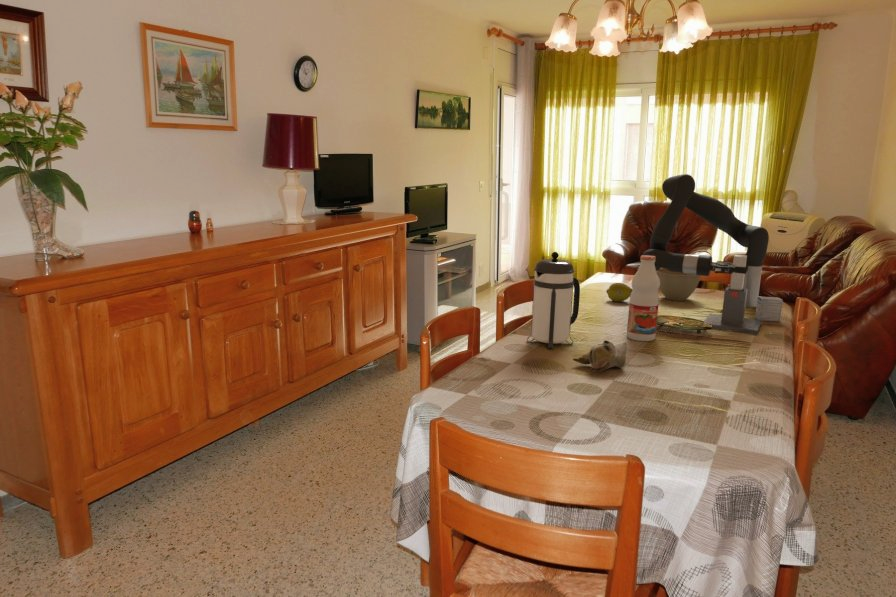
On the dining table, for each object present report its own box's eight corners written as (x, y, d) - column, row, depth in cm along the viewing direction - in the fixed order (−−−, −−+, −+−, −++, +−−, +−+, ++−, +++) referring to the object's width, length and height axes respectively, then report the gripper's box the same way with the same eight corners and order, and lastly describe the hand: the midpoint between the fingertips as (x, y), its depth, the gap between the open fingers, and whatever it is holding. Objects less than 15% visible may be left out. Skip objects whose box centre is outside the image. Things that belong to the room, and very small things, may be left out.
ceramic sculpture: (637, 342, 184) (592, 349, 179) (636, 371, 186) (592, 379, 181) (615, 332, 194) (571, 339, 188) (614, 360, 196) (571, 368, 190)
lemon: (603, 301, 274) (605, 283, 272) (607, 298, 281) (609, 280, 279) (629, 304, 269) (631, 286, 268) (633, 301, 276) (635, 282, 275)
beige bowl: (645, 295, 289) (648, 268, 286) (680, 293, 294) (683, 267, 292) (670, 304, 272) (673, 275, 269) (706, 302, 277) (710, 274, 275)
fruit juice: (644, 333, 226) (652, 253, 220) (661, 340, 217) (669, 258, 211) (621, 335, 223) (627, 254, 217) (636, 342, 215) (644, 258, 209)
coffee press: (576, 352, 203) (582, 256, 196) (524, 347, 206) (529, 254, 199) (576, 337, 219) (582, 249, 213) (529, 333, 223) (533, 246, 216)
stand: (702, 327, 237) (706, 290, 234) (709, 317, 252) (713, 282, 249) (756, 334, 228) (761, 297, 225) (760, 323, 243) (765, 288, 240)
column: (726, 315, 238) (733, 256, 233) (727, 312, 242) (734, 254, 237) (738, 316, 236) (746, 257, 231) (740, 314, 240) (747, 255, 235)
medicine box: (775, 319, 251) (778, 297, 249) (780, 322, 247) (783, 299, 245) (754, 318, 252) (757, 296, 250) (758, 321, 248) (761, 298, 246)
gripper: (695, 257, 235) (746, 262, 227) (701, 252, 247) (750, 256, 239) (692, 277, 237) (744, 283, 229) (699, 272, 249) (747, 277, 241)
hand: (747, 269), depth 234 cm, fingers closed on column, 4 cm apart
